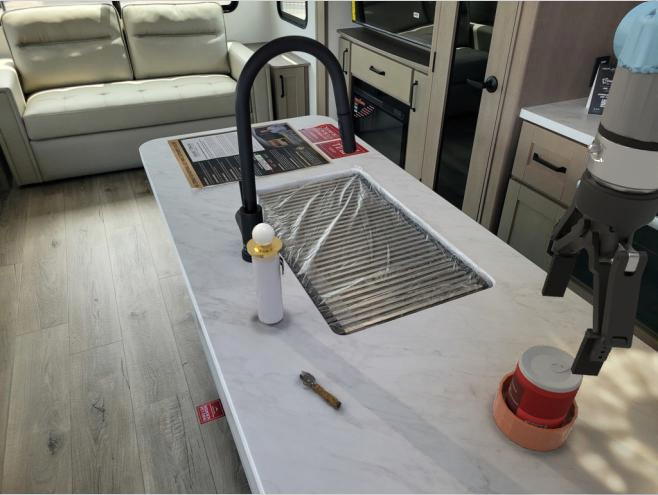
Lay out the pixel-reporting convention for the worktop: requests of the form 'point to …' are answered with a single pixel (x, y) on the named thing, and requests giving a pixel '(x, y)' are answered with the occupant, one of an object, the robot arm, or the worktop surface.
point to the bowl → (526, 432)
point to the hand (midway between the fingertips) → (566, 330)
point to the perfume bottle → (267, 272)
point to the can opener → (319, 389)
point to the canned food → (543, 387)
